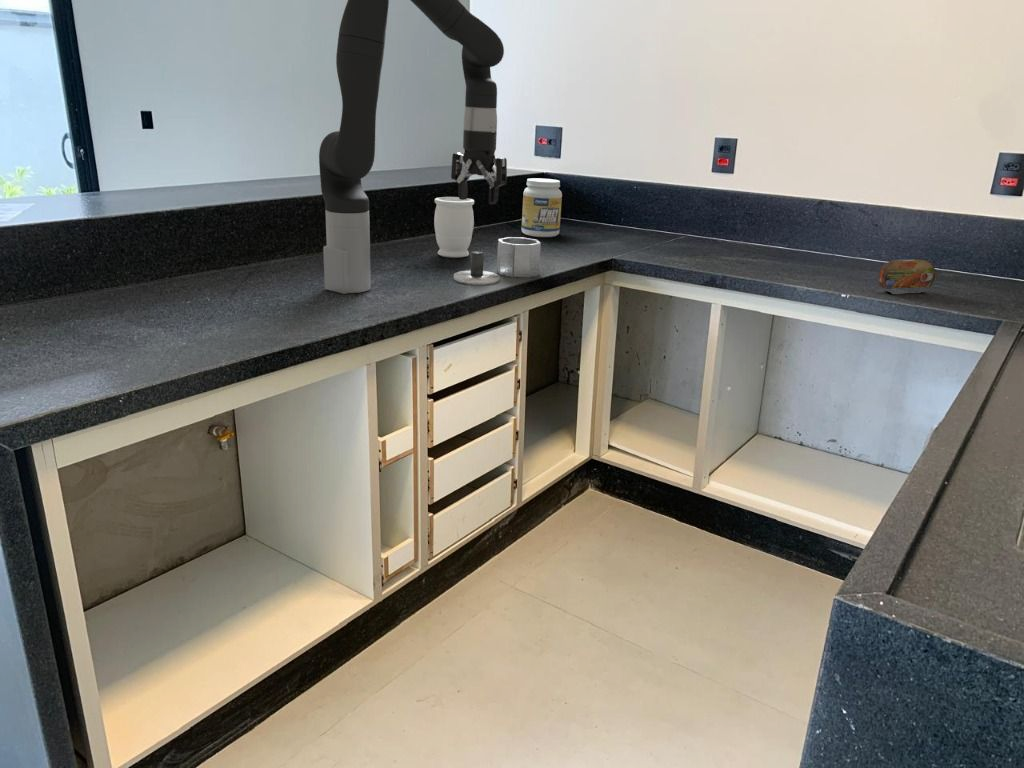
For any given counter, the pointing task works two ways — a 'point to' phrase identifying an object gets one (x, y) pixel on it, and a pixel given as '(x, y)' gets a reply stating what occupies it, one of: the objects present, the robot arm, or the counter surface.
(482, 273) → the lid
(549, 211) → the supplement tub
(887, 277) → the tin
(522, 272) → the pot
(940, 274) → the counter surface
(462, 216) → the jar
